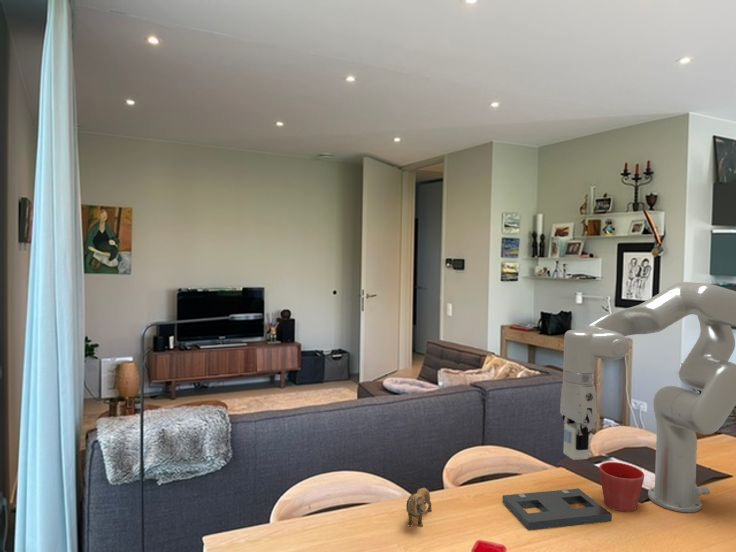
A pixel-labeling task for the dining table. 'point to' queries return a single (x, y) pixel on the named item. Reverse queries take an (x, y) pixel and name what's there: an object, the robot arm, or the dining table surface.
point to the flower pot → (621, 485)
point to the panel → (556, 509)
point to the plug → (573, 442)
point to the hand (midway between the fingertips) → (576, 445)
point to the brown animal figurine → (418, 505)
